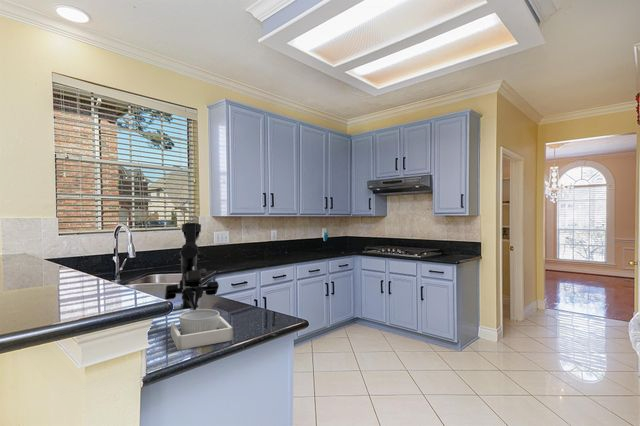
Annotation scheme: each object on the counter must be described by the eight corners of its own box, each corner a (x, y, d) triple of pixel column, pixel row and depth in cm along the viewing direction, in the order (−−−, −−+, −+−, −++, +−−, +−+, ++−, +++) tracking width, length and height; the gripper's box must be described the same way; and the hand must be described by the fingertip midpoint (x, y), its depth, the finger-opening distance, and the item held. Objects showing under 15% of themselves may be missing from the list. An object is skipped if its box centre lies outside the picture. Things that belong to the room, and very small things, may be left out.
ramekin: (213, 325, 124) (213, 306, 124) (223, 336, 113) (224, 315, 113) (175, 331, 117) (176, 311, 117) (182, 343, 106) (183, 321, 106)
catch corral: (170, 334, 114) (170, 322, 114) (220, 326, 123) (220, 315, 123) (177, 350, 101) (178, 337, 101) (232, 340, 110) (233, 328, 110)
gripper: (166, 263, 121) (169, 299, 111) (218, 260, 130) (225, 294, 121) (163, 281, 127) (166, 317, 117) (212, 277, 137) (219, 310, 127)
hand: (195, 309), depth 120 cm, fingers closed, pressing on ramekin
